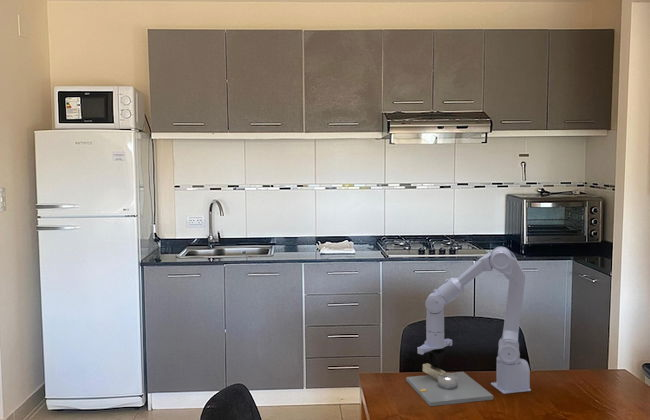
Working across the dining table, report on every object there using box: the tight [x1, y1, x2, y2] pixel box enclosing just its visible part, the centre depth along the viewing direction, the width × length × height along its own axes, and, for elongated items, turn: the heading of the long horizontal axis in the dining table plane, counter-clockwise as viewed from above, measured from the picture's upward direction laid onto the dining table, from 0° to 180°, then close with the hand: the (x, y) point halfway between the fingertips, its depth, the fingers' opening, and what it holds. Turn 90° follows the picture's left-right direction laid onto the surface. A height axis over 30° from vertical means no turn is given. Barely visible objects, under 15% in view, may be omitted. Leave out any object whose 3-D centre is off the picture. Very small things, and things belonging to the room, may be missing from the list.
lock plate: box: [405, 371, 494, 407], centre depth 170 cm, size 20×20×2 cm
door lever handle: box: [422, 363, 458, 389], centre depth 174 cm, size 14×6×4 cm, turn 28°
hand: (435, 371), depth 178 cm, fingers closed
